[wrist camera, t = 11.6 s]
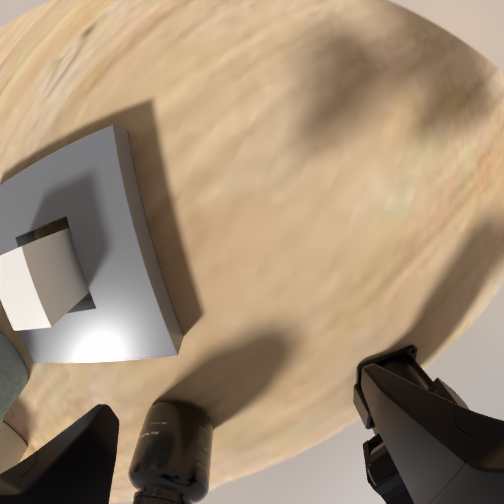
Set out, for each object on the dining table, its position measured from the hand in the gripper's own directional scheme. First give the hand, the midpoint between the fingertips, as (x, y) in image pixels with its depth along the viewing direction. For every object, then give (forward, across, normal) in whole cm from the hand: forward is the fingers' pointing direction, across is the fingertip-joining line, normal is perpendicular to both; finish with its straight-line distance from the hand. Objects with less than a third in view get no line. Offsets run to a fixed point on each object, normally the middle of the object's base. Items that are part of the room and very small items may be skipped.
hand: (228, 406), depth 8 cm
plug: (+12, +13, -4) cm, 18 cm away
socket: (+12, +13, -4) cm, 18 cm away
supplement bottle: (+12, +9, +14) cm, 21 cm away
